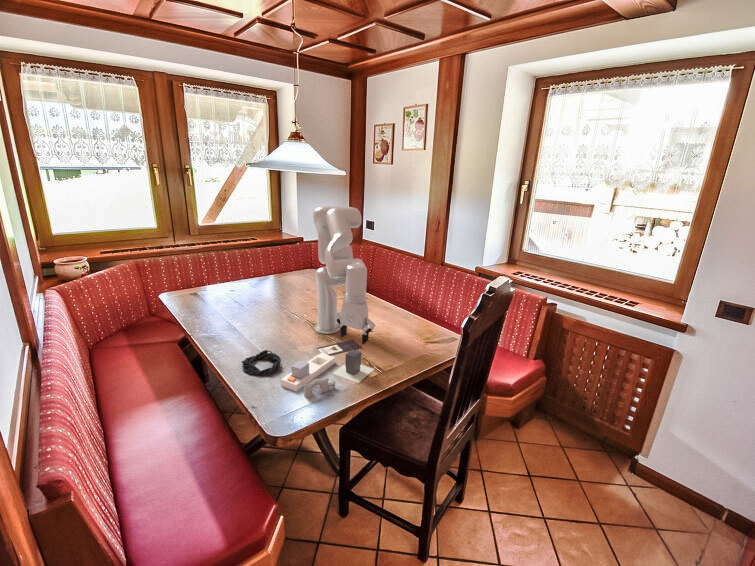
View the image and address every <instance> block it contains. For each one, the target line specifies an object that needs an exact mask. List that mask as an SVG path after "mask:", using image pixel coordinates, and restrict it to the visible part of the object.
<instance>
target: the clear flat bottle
mask: <svg viewBox="0 0 755 566" xmlns="http://www.w3.org/2000/svg"><path fill="white" fill-rule="evenodd" d="M336 384H337V383H336V381H335V380H332V381H330V379H329V377H326V378H323V379H320V378H314V379H313V380H311V381H310V382H309V383H307V384H305V385H303V396H304V398H310V397H312V396H313V397H314V396H316V395H315V394H319V395H320V394H322V393H325V392H328V391H333V390H334V389H336Z"/></svg>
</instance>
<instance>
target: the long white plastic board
mask: <svg viewBox="0 0 755 566" xmlns="http://www.w3.org/2000/svg"><path fill="white" fill-rule="evenodd" d="M306 362H307V363H309V373H308V374H307V375H306V376H305V377H303V378H302V379H298V378H295V377H293V376H292V371H291V372H290V373H288V374H287V375H284V377H282V378H280V386H281V387H283V388H286V389H288V390H291V391H294V392H298V391H300V390H301V389H302V388H304V386H303V385H305V384H308V383H310V382H312V381H313V380H315V379H316V378H317V377H318V376H319V375H321V374H323V373H324V372H325V371H326V370H328V369H329V368H331V367H332V366H334V364H335V363H336V357H335V356H334V355H331V356H329V355H326V354H323V353H321V352H320V353H319V354H317V355H315V356H314V357H312V358H311V359H310V360H307V361H306Z"/></svg>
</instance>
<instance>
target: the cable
mask: <svg viewBox="0 0 755 566" xmlns="http://www.w3.org/2000/svg"><path fill="white" fill-rule="evenodd" d="M262 359H268V360H269V361H270V362H271V363H273V365H272V367H268V368H265V369H262V370H261V369H260V368H258V367H257V366H256V365H255V364H254V362H255V361H257V360H262ZM281 362H282V359H281V357H280V356H279V355H278V354H277V353H275V352H274V353H273V352H272V351H271V350H268V349H265V350H262V351H260V352H259V353H256V354H254V355H252V356H250V357H248V356H247V357H246V358H244V360H241V364H242V368H243V370H244V372H245V373H246V374H247V375H248V374H250V375H252V376H257V377H260V376H261V377H268V376H269V375H271V374H275V373H276V372H277V371H278V369H279V368H280V367H281Z"/></svg>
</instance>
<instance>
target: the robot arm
mask: <svg viewBox="0 0 755 566" xmlns="http://www.w3.org/2000/svg"><path fill="white" fill-rule="evenodd" d="M312 218H313V223H314V226H315V228H316V232H317V250H318V251H317V252H318V253H317V254H318V260H319V262H320V263H321V264H323V265H325V266H322V267H319V268H317V269H316V270H315V283H316V286H317V287H316V289H317V323H316V324H315V325H314V331H315V332H316V333H318V334H323V335H332V334H336V333H338V332H339V334H340V338H343V337H345V336H347V332H348V331H347V329H348V328H352V329H355V330H359V331H360V330H361V332H362V333H363V334H361V335H362V336H361V344H362V345H365V344H366V343H367V342H368V341H369V336H370V334H369V333H371V332H372V331H373V330H374V329H375V327H376V324H375V323H374V322H373V321H372V320H371V319H370V318H369V307H368V301H366V300H367V281H368V280H367V279H368V277H367V275H368V269H367V266H366V265H365V263H364V261H363V260H362V259H360V258H354V255H353V254H354V253H353V248H352V246H351V245H350V244H352V241H353V240H354V236H353V235H354V234H353V232H352V230H351V229H358V228H360V226H361V225H362V214H361V212H360V210H359V209H358V208H357V207H351V206H319V207H316V208H314V211H313V214H312ZM341 286H342V287H344V286H345V291H343V292H342V295H344V298H343V299H342V303H341V308H340V312H338V302H339V301H338V293H337V291H336V290H335V289H334V288H333V287H341ZM368 326H369V327H368Z"/></svg>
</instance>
